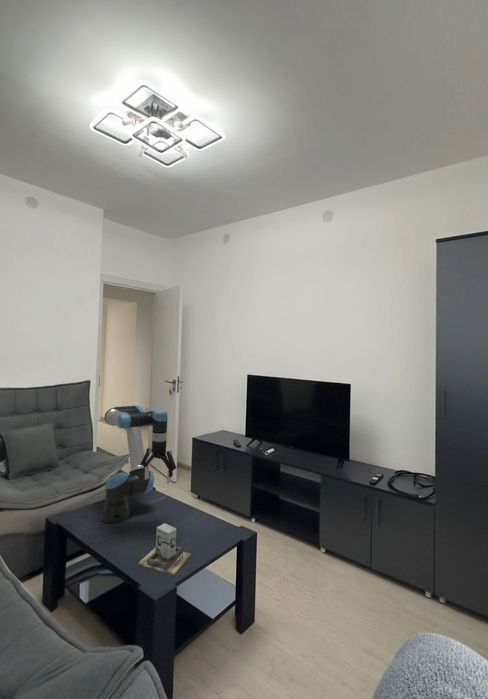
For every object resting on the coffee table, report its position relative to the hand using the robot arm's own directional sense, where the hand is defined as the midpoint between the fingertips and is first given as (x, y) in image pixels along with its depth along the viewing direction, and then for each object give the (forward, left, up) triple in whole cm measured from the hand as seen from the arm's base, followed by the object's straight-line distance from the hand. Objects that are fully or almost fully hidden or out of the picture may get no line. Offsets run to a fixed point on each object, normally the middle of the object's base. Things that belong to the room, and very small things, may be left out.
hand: (157, 480), depth 182 cm
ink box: (+18, -20, -24) cm, 36 cm away
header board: (+18, -20, -27) cm, 38 cm away
